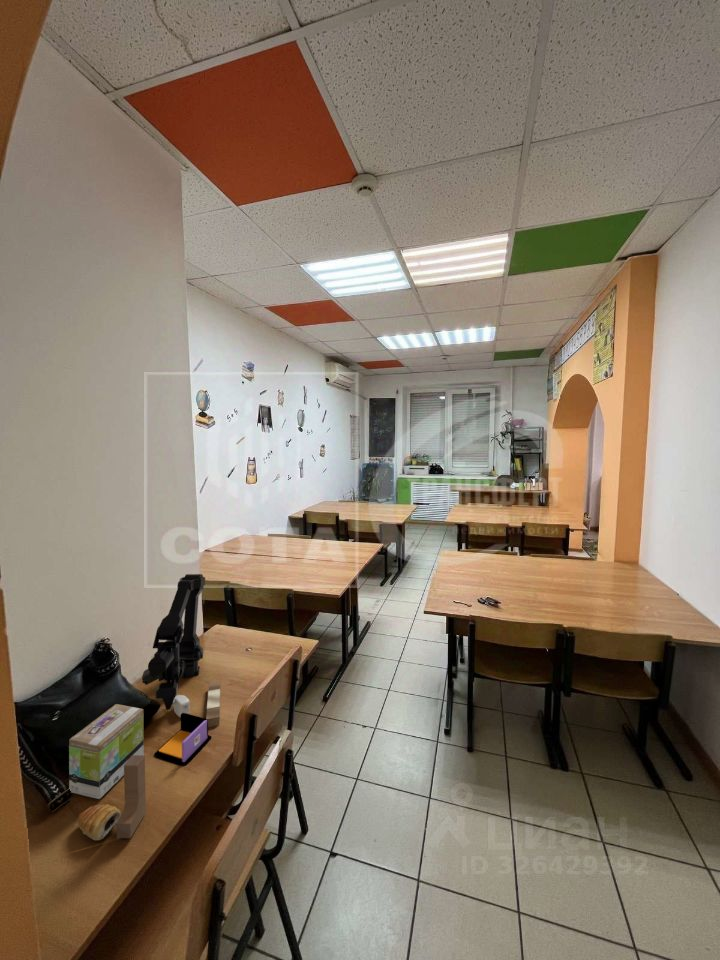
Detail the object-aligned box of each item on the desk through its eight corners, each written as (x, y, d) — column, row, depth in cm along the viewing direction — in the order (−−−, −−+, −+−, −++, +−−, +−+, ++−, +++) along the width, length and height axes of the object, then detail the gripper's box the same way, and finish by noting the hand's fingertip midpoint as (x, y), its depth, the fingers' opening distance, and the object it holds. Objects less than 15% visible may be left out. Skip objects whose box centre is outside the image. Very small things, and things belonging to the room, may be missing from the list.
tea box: (100, 800, 97) (99, 746, 96) (68, 793, 99) (66, 739, 98) (145, 755, 111) (144, 707, 110) (116, 749, 113) (115, 702, 112)
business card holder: (213, 738, 119) (213, 717, 118) (185, 768, 107) (184, 745, 107) (182, 729, 122) (181, 708, 122) (151, 757, 111) (151, 735, 110)
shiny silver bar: (209, 691, 141) (208, 682, 141) (220, 689, 143) (220, 680, 142) (206, 728, 122) (206, 718, 122) (219, 725, 124) (219, 716, 124)
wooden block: (133, 811, 94) (131, 754, 93) (146, 811, 94) (145, 754, 93) (116, 838, 87) (114, 777, 86) (130, 838, 87) (128, 777, 86)
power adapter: (166, 706, 132) (166, 692, 132) (178, 701, 135) (178, 687, 135) (178, 720, 126) (179, 705, 125) (191, 713, 129) (191, 699, 129)
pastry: (68, 832, 88) (67, 817, 88) (96, 805, 95) (95, 791, 94) (99, 844, 86) (98, 829, 85) (125, 816, 92) (124, 802, 92)
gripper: (150, 648, 138) (150, 689, 139) (137, 676, 121) (138, 723, 122) (183, 644, 142) (183, 684, 143) (176, 671, 124) (176, 717, 125)
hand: (170, 701), depth 133 cm, fingers open, 9 cm apart
